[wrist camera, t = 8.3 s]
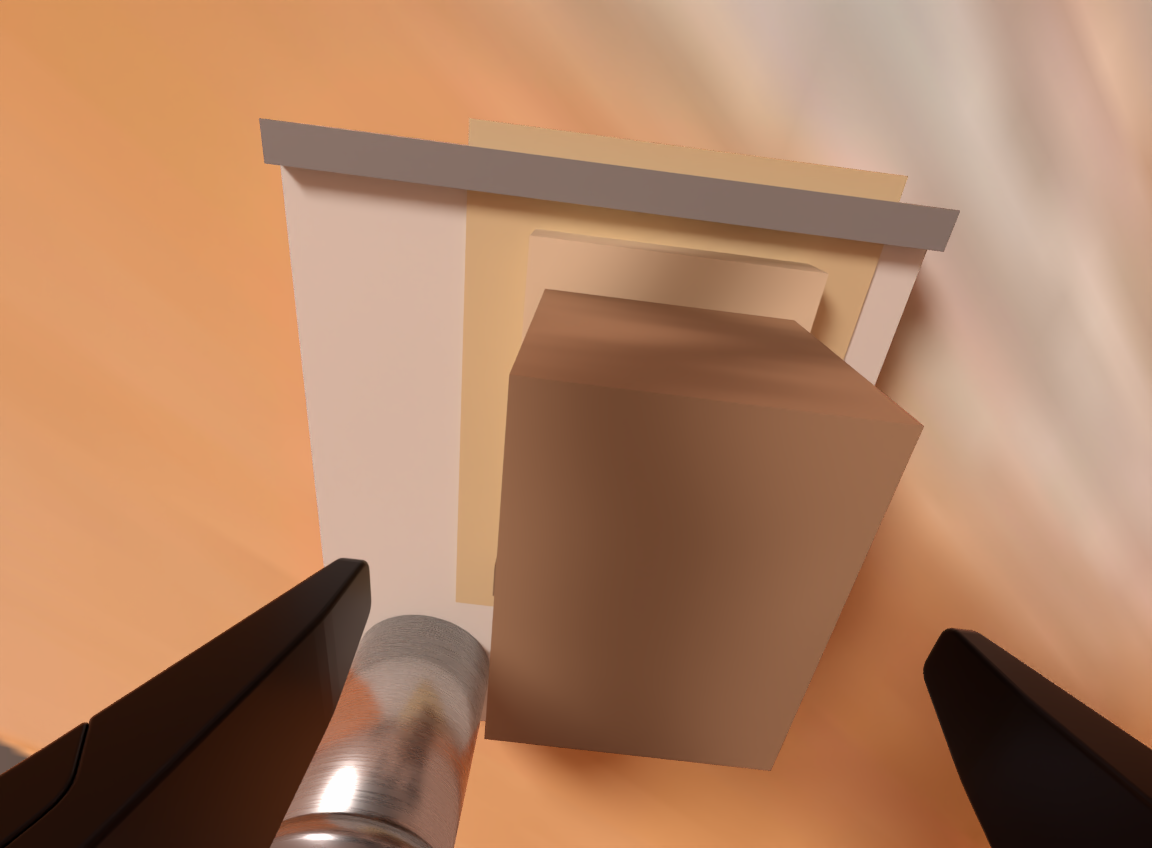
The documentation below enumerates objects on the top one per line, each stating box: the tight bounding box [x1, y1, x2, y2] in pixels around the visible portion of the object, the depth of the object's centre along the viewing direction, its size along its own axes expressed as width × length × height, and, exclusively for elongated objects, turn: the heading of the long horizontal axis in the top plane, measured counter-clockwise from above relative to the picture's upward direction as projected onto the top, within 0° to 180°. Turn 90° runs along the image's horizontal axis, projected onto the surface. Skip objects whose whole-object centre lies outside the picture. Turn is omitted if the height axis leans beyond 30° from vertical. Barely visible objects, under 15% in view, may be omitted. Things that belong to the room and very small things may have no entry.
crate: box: [484, 229, 924, 771], centre depth 11 cm, size 6×9×6 cm, turn 173°
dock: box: [259, 118, 960, 721], centre depth 16 cm, size 14×18×3 cm
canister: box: [270, 615, 490, 848], centre depth 15 cm, size 5×5×6 cm
